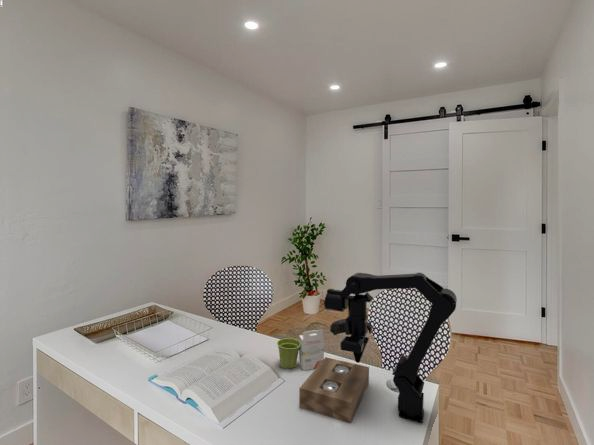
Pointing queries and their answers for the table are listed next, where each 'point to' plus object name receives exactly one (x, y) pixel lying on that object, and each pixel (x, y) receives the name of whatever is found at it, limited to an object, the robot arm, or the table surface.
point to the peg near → (330, 386)
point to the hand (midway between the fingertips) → (357, 362)
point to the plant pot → (288, 352)
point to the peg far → (342, 370)
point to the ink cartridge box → (311, 349)
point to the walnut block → (335, 402)
